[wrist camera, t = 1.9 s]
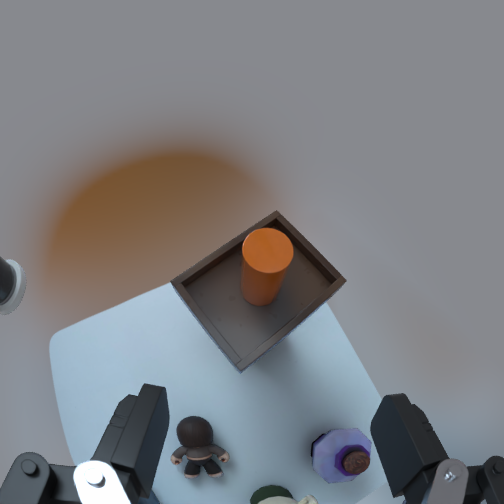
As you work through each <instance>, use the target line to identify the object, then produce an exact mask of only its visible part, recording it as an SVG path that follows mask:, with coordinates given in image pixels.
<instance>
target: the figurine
mask: <svg viewBox="0 0 504 504" xmlns="http://www.w3.org/2000/svg"><path fill="white" fill-rule="evenodd" d="M177 436H178V439H179V442H180V444H181V445H183V446H181V447H179V448H178V449H177V450H176V451H174V453H173V454H172V456H171V461H172V463H173V464H175V465H178V464H180V463H181V462H182V457H183V455H186V456H187V459H188V460H189V461H188V463H187V465H186V468H185V472H184V477H185V478H188V479H193V478H197V477H198V476H199V472H200V466H203V467H204V469H205V470H206V472H207V474H208V475H209V476H210V477H213V478H216V477H221V476H223V472H222V470H221V469H220V467H219V466H218V465H217V464H216V463H215V462H214V461H213V460H212V459H211V457H212V453H213V454H216V455H217V457H218V459H219V460H220V461H221V460H222V462H228V461H229V454H228V453H227V452H226V451H225V450H224V449H222V448H220V447H218V446H216V445H213V444H210V443H211V442H212V441H213V431H212V427H211V425H210V424H209V422H208V421H206V420H205V419H203V418H201V417H197V416H190V417H187V418H184V419H183V420H182V421H181V422H180V423H179V424H178V426H177ZM222 458H223V459H222ZM177 460H178V461H177Z"/></svg>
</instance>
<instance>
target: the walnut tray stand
mask: <svg viewBox="0 0 504 504" xmlns="http://www.w3.org/2000/svg"><path fill="white" fill-rule="evenodd" d="M261 228H272V229H276V230H278V231H280V232H282V233H284V234H285V235H286V236H287V237H288V238H289V240H290V241H291V243H292V246H293V251H294V253H293V259H292V261H291V264H290V266H289V269H288V271H287V274H286V276H285V279H284V281H283V284H282V286H281V289H280V291H279V294H278V296H277V298H276V299H275V300H274V301H273V302H272V303H270V304H268V305H264V306H256V305H253V304H251V303H249V302H247V301H246V300H245V299H244V297H243V296H242V294H241V290H240V280H241V262H242V246H243V243H244V240H245V239H246V237H247V236H248V235H249V234H250V233H252V232H253V231H255V230H257V229H261ZM345 282H346V279H345V278H344V277H343V276H341V274H340V273H339V272H338V271H337V270H336V269H335V268H334V267H333V266H332V265H331V264H330V263H329V262H328V261H327V260H326V259H325V258H324V256H323V255H322V254H320V252H319V251H318V250H317V249H316V248H315V247H314V246H313V245H312V244H311V243H310V242H309V241H307V239H306V238H305V237H304V236H303V235H302V234H301V233H300V232H299V231H298V230H297V229H296V228H295V227H293V225H291V224H290V223H289V222H288V221H287V220H286V219H285V218H284V217H283V216H282V215H281V214H280V213H279V212H278V211H275V212H273V213H272V214H270V215H269V216H267V217H266V218H264V219H262V220H261V221H260V222H258V223H256V224H255V225H254V226H252V227H250V228H249V229H247V230H246V231H244V232H243V233H241V234H240V235H238V236H237V237H235V238H234V239H232V240H231V241H229V242H228V243H226V244H225V245H223V246H222V247H220V248H219V249H217V250H216V251H214V252H213V253H211V254H210V255H208V256H207V257H205V258H204V259H202V260H201V261H199V262H198V263H196V264H195V265H194V266H192V267H191V268H189V269H188V270H186V271H185V272H183V273H182V274H180V275H179V276H177V277H176V278H174V279H173V280H171V284H172V286H173V288H174V290H175V291H176V293H177V294H178V296H179V297H180V298H181V300H182V301H183V302H184V304H185V305H186V306H187V308H188V309H189V311H190V312H191V313H192V315H193V316H194V317H195V318H196V320H197V321H198V322H199V324H200V325H201V326H202V328H203V329H204V330H205V331H206V333H207V334H208V335H209V337H210V338H211V339H212V340H213V342H214V343H215V344H216V345H217V347H218V348H219V349H220V350H221V352H222V353H223V354H224V355H225V357H226V358H227V359H228V360H229V361H230V363H231V364H232V365H233V366H234V367H235V369H236V370H237V371H238V372H239V373H240V374H241V373H242V372H243V371H245V370H246V369H247V368H248V367H250V366H251V365H252V364H253V363H255V362H256V361H257V360H258V359H260V358H261V357H262V356H263V355H265V354H266V353H267V352H268V351H270V350H271V349H272V348H273V347H275V346H276V345H277V344H278V343H279V342H281V341H282V340H283V339H284V338H285V337H287V336H288V335H289V334H290V333H291V332H292V331H294V330H295V329H296V328H297V327H298V326H299V325H301V324H302V323H303V322H304V321H305V320H306V319H307V318H309V317H310V316H311V315H312V314H313V313H314V312H315V311H316V310H318V309H319V308H320V307H321V306H322V305H323V304H324V303H325V302H326V301H327V300H329V299H330V298H331V297H332V296H333V295H334V294H335V293H336V292H337V291H338V290H339V289H340V288H341V287H342V286H343V285H344V283H345Z"/></svg>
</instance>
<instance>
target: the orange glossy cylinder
mask: <svg viewBox="0 0 504 504" xmlns="http://www.w3.org/2000/svg"><path fill="white" fill-rule="evenodd" d="M293 253H294V251H293V246H292V243H291V241H290V240H289V238H288V237H287V236H286V235H285V234H284V233H282V232H280V231H278V230H276V229H272V228H261V229H257V230H255V231H253V232H252V233H250V234H249V235H248V236H247V237H246V239H245V240H244V243H243V246H242V262H241V280H240V290H241V294H242V296H243V297H244V299H245V300H246V301H247V302H249V303H251V304H253V305H256V306H264V305H268V304H270V303H272V302H273V301H274V300H275V299H276V298H277V296H278V294H279V291H280V289H281V286H282V284H283V281H284V279H285V276H286V274H287V271H288V269H289V266H290V264H291V261H292V259H293Z"/></svg>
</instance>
